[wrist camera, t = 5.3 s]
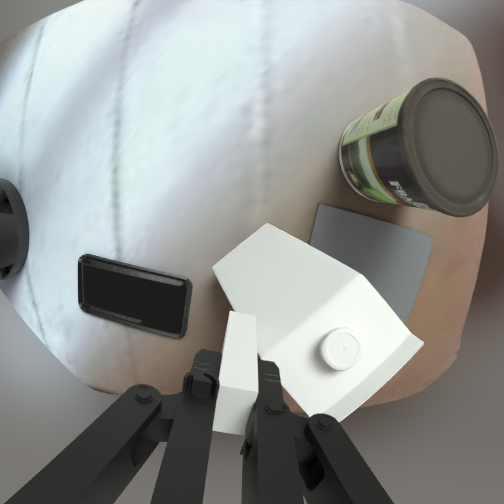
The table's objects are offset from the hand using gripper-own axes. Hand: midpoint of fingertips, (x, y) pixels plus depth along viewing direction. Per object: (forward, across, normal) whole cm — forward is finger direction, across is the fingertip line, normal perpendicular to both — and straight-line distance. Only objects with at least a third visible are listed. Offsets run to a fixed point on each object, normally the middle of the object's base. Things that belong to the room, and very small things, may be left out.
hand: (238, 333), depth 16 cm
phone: (+16, -13, -7) cm, 21 cm away
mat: (+15, +14, 0) cm, 21 cm away
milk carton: (+14, +2, 0) cm, 14 cm away
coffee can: (+16, +12, +15) cm, 25 cm away
